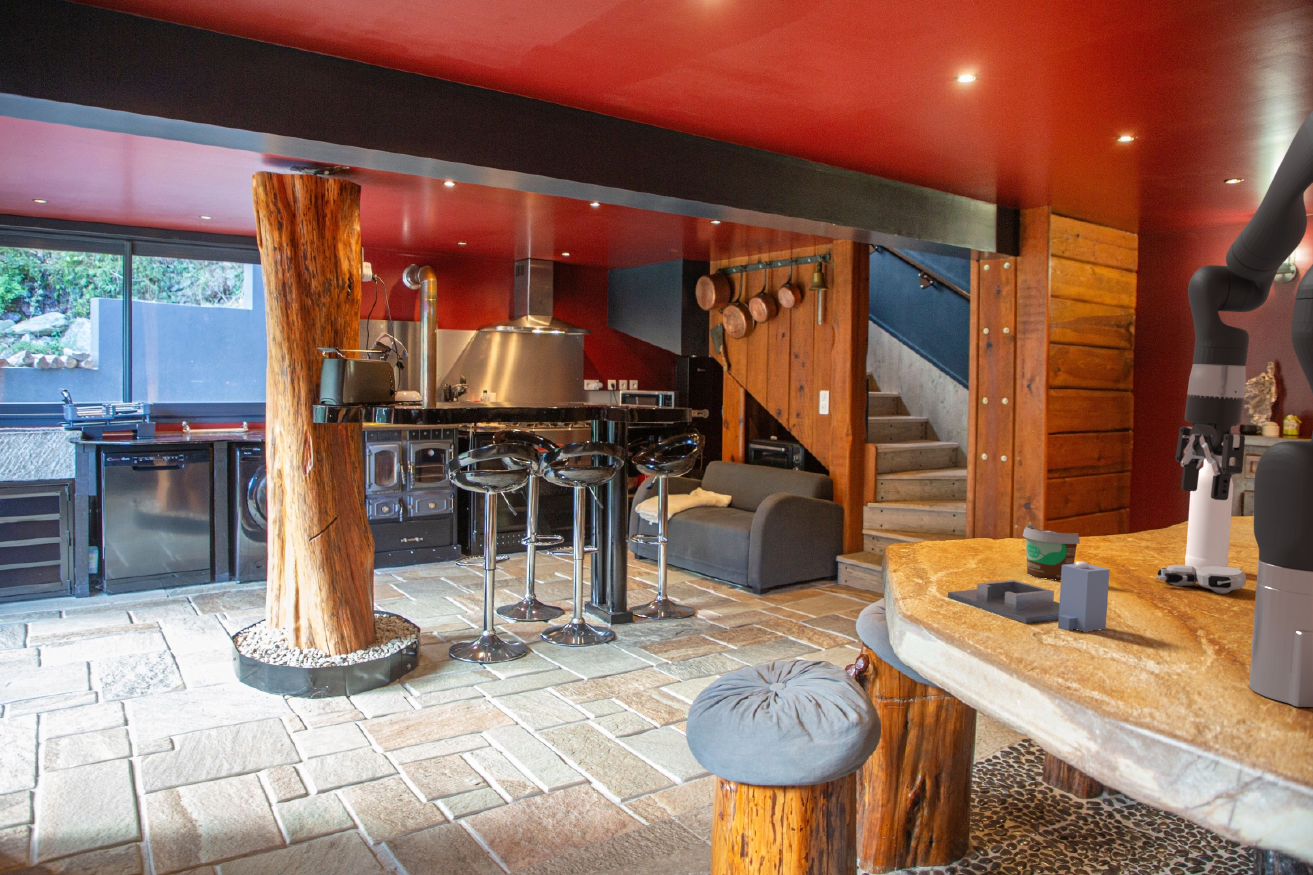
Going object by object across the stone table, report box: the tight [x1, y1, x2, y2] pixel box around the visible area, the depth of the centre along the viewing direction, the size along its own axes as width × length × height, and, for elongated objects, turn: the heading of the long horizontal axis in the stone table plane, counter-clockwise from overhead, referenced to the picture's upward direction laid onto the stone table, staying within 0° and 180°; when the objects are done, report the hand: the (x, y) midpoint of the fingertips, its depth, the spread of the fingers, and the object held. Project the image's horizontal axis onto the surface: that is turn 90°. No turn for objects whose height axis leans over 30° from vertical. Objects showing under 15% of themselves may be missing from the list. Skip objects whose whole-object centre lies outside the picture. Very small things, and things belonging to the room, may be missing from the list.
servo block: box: [1057, 560, 1110, 633], centre depth 140 cm, size 5×7×11 cm
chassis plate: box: [947, 579, 1060, 624], centre depth 152 cm, size 18×14×4 cm
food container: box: [1022, 524, 1081, 581], centre depth 178 cm, size 12×6×10 cm, turn 25°
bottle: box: [1184, 459, 1234, 570], centre depth 187 cm, size 8×8×30 cm
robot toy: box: [1156, 564, 1247, 595], centre depth 171 cm, size 12×4×15 cm
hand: (1203, 494), depth 136 cm, fingers open, 8 cm apart
